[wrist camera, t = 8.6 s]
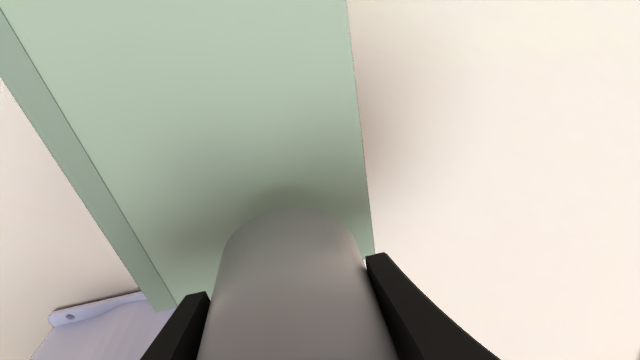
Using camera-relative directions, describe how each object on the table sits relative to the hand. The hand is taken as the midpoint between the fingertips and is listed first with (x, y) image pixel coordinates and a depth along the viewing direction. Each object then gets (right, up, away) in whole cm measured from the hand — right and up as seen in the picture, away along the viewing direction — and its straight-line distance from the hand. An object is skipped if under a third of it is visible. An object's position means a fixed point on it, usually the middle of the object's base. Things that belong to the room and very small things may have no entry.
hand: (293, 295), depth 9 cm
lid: (-3, +5, +2) cm, 6 cm away
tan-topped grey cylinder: (0, +1, +1) cm, 1 cm away
